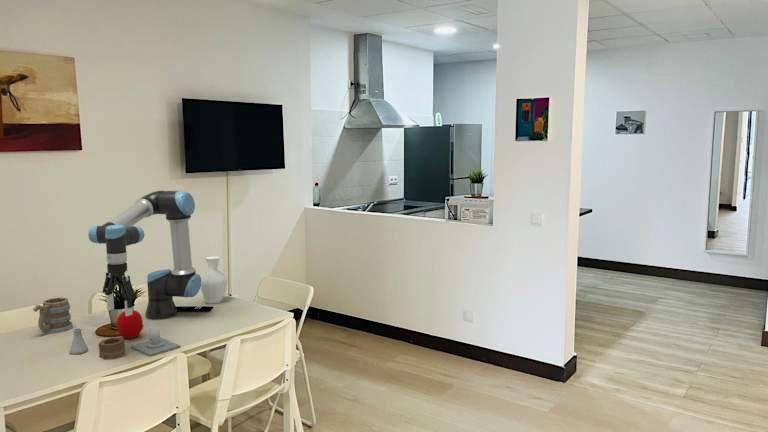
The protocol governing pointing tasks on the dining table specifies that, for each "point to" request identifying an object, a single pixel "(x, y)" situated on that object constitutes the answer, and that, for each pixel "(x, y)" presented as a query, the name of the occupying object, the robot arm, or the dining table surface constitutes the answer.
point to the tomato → (129, 324)
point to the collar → (111, 348)
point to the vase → (213, 282)
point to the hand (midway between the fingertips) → (119, 312)
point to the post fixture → (155, 343)
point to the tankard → (54, 315)
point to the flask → (78, 343)
